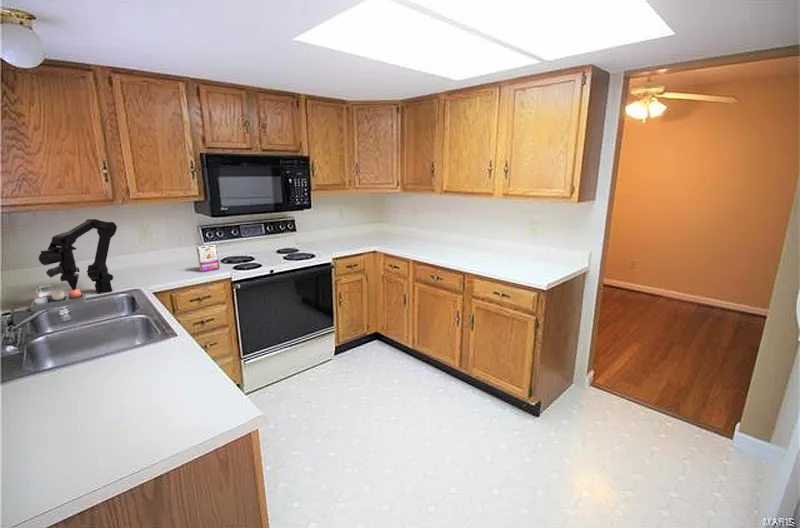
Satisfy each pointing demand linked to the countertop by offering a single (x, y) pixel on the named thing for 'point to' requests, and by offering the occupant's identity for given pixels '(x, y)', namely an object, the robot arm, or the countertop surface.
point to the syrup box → (43, 291)
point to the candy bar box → (208, 258)
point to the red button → (74, 293)
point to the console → (58, 303)
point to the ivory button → (57, 295)
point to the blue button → (41, 300)
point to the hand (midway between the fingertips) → (74, 289)
